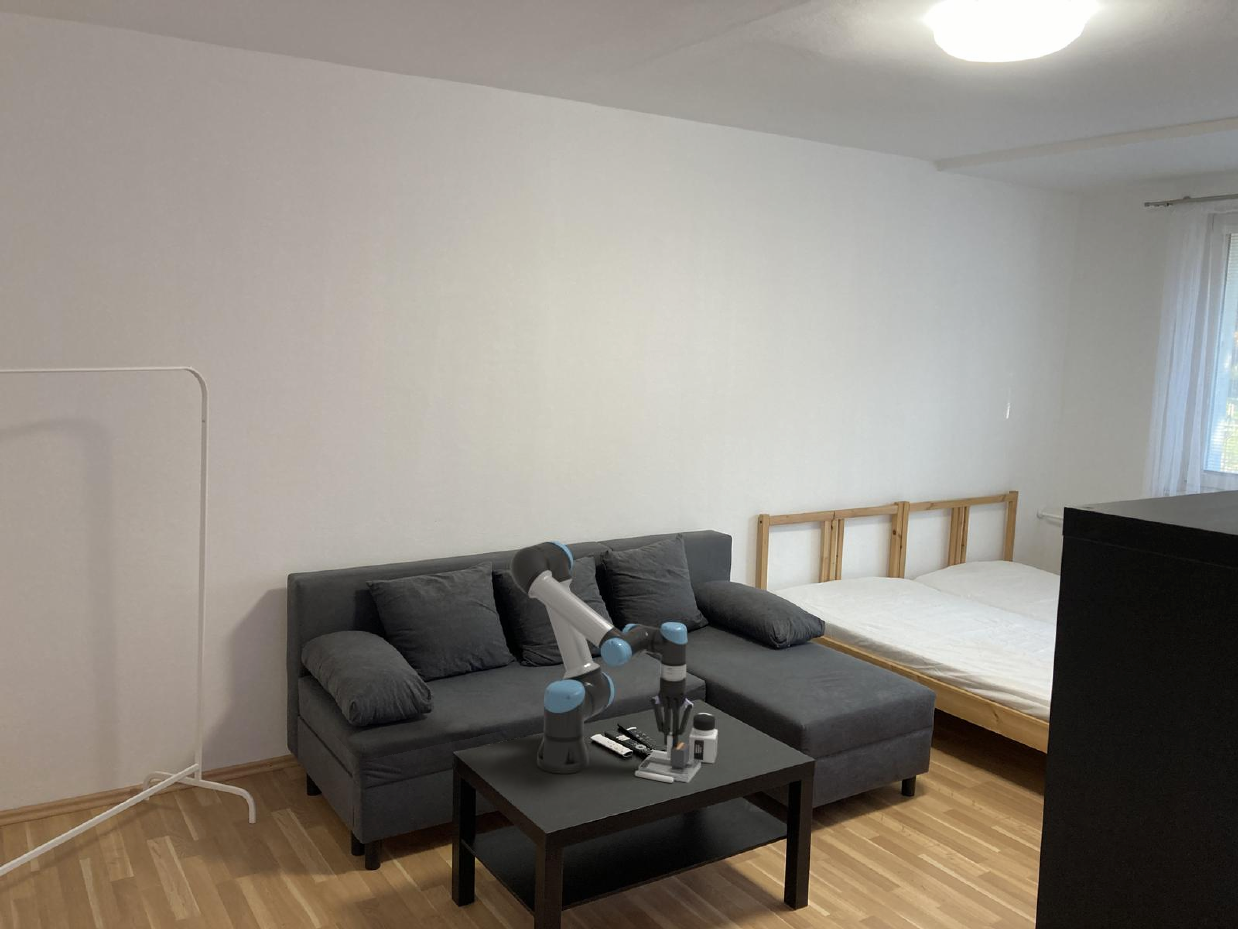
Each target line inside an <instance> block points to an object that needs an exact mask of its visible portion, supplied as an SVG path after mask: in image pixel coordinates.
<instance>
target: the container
mask: <svg viewBox="0 0 1238 929" xmlns="http://www.w3.org/2000/svg"><path fill="white" fill-rule="evenodd" d="M718 733H719V730H718V729H716V717H715V715H712V714H710V713H705V712H699V713H696V714H694V715H693V719H692V728H691V730H690V734H689V735H688V736H689V738H688V744H689V758H691V759H697V760H701V763H708V764H715V761H716V758H717V754H718V736H719V735H718Z"/></svg>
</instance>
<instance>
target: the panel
mask: <svg viewBox="0 0 1238 929" xmlns="http://www.w3.org/2000/svg"><path fill="white" fill-rule="evenodd" d="M701 766H702V762H701V760H697V759H691V758H689V762H688V763H687V764H686V765H685V766H684V768H683V767H678V766H672V765H670V758H667V754H664V753H658V752H652V753H651V754H650V755H648V756H647V757H646V758H645V759H644V760H643V761H642V763H640V764H639V766H638V771H643V772H648V773H653V774H658V775H664V776H669V777H673V779H674V781H677V782H683V783H690V781H691V780H693V777H694V776H696V773H697V772H698V771H699V770H700V768H701Z"/></svg>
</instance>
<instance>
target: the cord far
mask: <svg viewBox="0 0 1238 929" xmlns="http://www.w3.org/2000/svg"><path fill="white" fill-rule="evenodd" d="M651 751H653V752H658V753H664V754H667V751H662V750H656V749H652V750H651Z"/></svg>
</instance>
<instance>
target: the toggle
mask: <svg viewBox="0 0 1238 929" xmlns="http://www.w3.org/2000/svg"><path fill="white" fill-rule="evenodd" d="M688 762H689V743H685V742H678V745H677V746H676V747H674V746H673V747H672V748H671V758H670V765H672V766H678V767H683V768H684V766H685V765H686V764H687V763H688Z"/></svg>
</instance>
